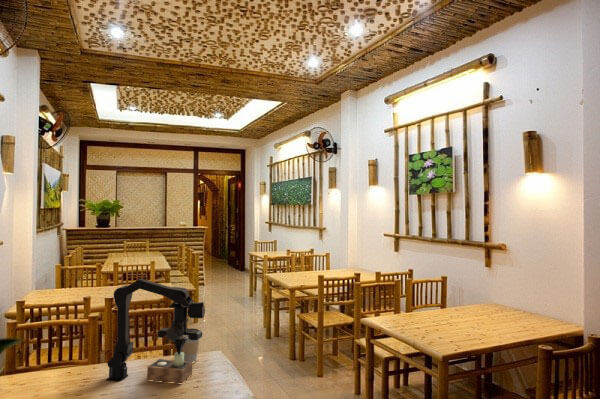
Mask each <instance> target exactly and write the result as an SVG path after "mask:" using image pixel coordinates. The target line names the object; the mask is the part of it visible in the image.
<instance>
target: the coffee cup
mask: <svg viewBox="0 0 600 399" xmlns="http://www.w3.org/2000/svg"><path fill="white" fill-rule="evenodd" d="M193 330H199V329H198V328H188V331H187V332H191V331H193ZM199 345H200V339H198V340H190V339H187V340H186V342H185V344H184V346H183V349H182V352H183V353H184V361H188V362H193V361H196V362H197V358H198V351H199Z"/></svg>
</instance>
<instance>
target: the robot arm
mask: <svg viewBox="0 0 600 399" xmlns="http://www.w3.org/2000/svg"><path fill="white" fill-rule="evenodd" d="M138 290H142V291H147V292H150V293H152V294H156V295H158V296H159V295H160V296H163V297H166V298H167V299H169V300H170V301H171V302H172V303H171V304H170V305H168V306H169V307H168V308H169V309H173V320H171V325H170V326H169V327H162V328H160V329H158V331H157V333H156V337H157V338H164V337H166V338H167V339H166V340H169V341H171V342H173V344H174V346H175V350H176V353H178V354H180V353H181V352H183V346H184V344H185V342H186V340H187V339H190V340H198V339H199V340H200V339H201V338H202V337H203V332H202V330H200V329H198V330H193V331H191V332H187V331H188V329H189V328H188V322H189V318H190V319H204V318H205V314H206V307H205V302H204V301H201V302H195V301H194V300H193V299H192V297H191V296H190V292H189V290H188V289H187V288H186V287H179V286H168V285H164V284H161V283H157V282H154V281H151V280H149V279H145V278H138V279H137V280H135V281H134V282H132V283H129V285H126V284H125V285H122V286H121V287H118V288H116V289H115V290H114V291H113V300H114V304H115V306H116V308H117V323H116V324H117V326H116V328H117V331H116V332H117V333H116V334H117V336H116V337H117V338H116V343H115V346H114V350H113V356H112V357H111V359H109V360H108V362H106V364H107V367H108V377H107V378H106V381H110V382H111V381H112V382H121V381H123V380H124V379H125V377H126V378H127V377H128V376H129V373H128V366H127V365H128V364H127V361H128V359H129V358H130V357H131V356H132V355H133V352H134V350H135V349H134V341H131V340H130V338H129V335H130V334H129V333H130V332H129V331H130V330H129V329H130V328H129V326H130V325H129V324H130V316H129V315H130V304H131V301H132V298H133V293H135V292H136V291H138ZM188 317H189V318H188Z"/></svg>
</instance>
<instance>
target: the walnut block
mask: <svg viewBox="0 0 600 399" xmlns="http://www.w3.org/2000/svg"><path fill="white" fill-rule="evenodd" d="M159 362H166V363H167V364H166V365H165V366H163V365H157V363H159ZM146 373H147V374H146V376H147V377H146V381H147V380H153V381H162V382H174V383H183V382H184V381H185V380H186V379H187V378H188V377H189V376H190V375H191V374H192V375H193V364H192V362H188V361H184V366H183V367H174V359H166V358H165V359H164V358H158V359H157V360H156V361H154V362H153V363H151V364H150V365H148V366H147V372H146ZM186 381H187V380H186ZM186 381H185V382H186ZM185 382H184V383H185ZM184 383H183V384H184Z"/></svg>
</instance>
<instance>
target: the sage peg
mask: <svg viewBox="0 0 600 399" xmlns="http://www.w3.org/2000/svg"><path fill="white" fill-rule="evenodd" d="M173 360H174V367H183V366H184V353H183V351H181V353H180V354H178V353H177V352H174V359H173Z"/></svg>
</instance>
